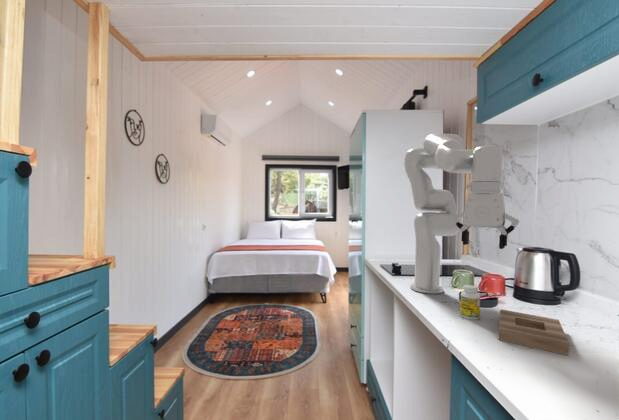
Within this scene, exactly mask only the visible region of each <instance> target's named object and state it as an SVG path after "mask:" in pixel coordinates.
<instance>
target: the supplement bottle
mask: <svg viewBox="0 0 619 420" xmlns="http://www.w3.org/2000/svg"><path fill="white" fill-rule="evenodd" d="M462 289H463V291H462V292H460V309H459V310H460V312H459V313H460V317H462V318H464V319H466V320H473V321H477V320H479V319H480V315H481V314H480V313H481V295H480V294H479V293H478V291H479V290H478V289H479V288H478V286H477V285H473V284H464V285H463V286H462Z"/></svg>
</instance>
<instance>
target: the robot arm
mask: <svg viewBox="0 0 619 420" xmlns="http://www.w3.org/2000/svg"><path fill="white" fill-rule="evenodd" d="M464 143H465V142H464V139H463V138H462V136H460V135H459V134H455V133H441V132H440V133H439V132H438V133H431V134H429V135H427V136H426V137H425V139H424V140H423V147H416V148H411V149H409V150H407V152H405V156H404V162H403V163H404V170H405V173H406V175H407V178H408V181H409V183H410V185H411V186H410V187H411V193H412V198H413V204H414V207H415V208H416V210H418V212H419V211H420V213H418V214H416V215H415V217H414V220H413V226H414V234H415V258H414V259H415V260H414V282H413V283H411V284H410V286H409V288H410V289H411V290H413V291H415V292H418V293H424V294H432V295H434V294H435V295H436V294H437V295H438V294H442V293H443V292H444V288H443V287H442V286H441V285H440V278H441V277H440V276H441V275H440V273H441V249H442V248H441V244H440V242H439V241H438V239H437V238H436V237H453V236H456V235H457V234H458V233H459V231H460V232H461V242H462V245H464V246H465V245H469V243H470V242H469V241H470V240H469V239H470V231H469V230H470V228H471V227H477V228H478V227H479V228H480V227H481V228H489V229H490V228H491V229H493V228H497V230H498V231H499V232H500V235H499V244H498V249H500V250H504V249H505V247H507V246H508V235H509V234H511V233H512V232H513V231H514V230H515V229H516V228H517V226H518V225H519V224H520V219H518V218H516V217H514V216H512V215H510V214H509V213H506V207H505V205H506V204H505V199H504V198H505V197H504V194H503V193H502V192H501V189H502V168H503V167H502V166H503V149H502V147H501V146H498V145H493V144H492V145H480V146H477V147H476V148H475V149H466V148H465V149H464ZM424 169H436V170H437V169H441V170H443V171H444V172H446V173H449V174H450V173H451V174H468V175H471V182H470V184H467V185H466V186H465V187H466V190H470V192H468V193H467V195H466V200H465V204H464V206H465V207H464V211H463V212H460V213H459V212H458V209H457V204H456V201H455V197H454V195H453V193H452V192H451V191H449V190H447V189H442V188H441V189H438V188H437V189H436V188H434V187H433V182H432V179H431V177H430V176H429V174H428V173H427V172H426V171H425V170H424ZM458 213H459V214H458ZM462 218H463V223H462V222H461V219H462ZM506 220H507V221H509V222H511V224H510V225H509V226H508V227H507V228H506V226H505V224H506Z"/></svg>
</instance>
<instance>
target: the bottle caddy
mask: <svg viewBox="0 0 619 420" xmlns="http://www.w3.org/2000/svg"><path fill="white" fill-rule="evenodd" d="M498 322H499V323H498V340H499V341H502V342H506V341H507V342H508V343H511V342H512V344H515V343H516V345H520V346H524V345H525V346H524V347H528V348H533V347H534V349H537V348H538V350H543V351H547V352H552V353H556V354H560V355H565V356H569V353H570V352H569V351H570V350H569V348H570V342H569V340H568V337H567V336H566V335H567V334H566V332H565V331H564V328H563V327H562V324H561V322H560V320H559V319H556V318H551V317H545V316H540V315H534V314H528V313H525V312H519V311H512V310H507V309H500V313H499V321H498Z"/></svg>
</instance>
